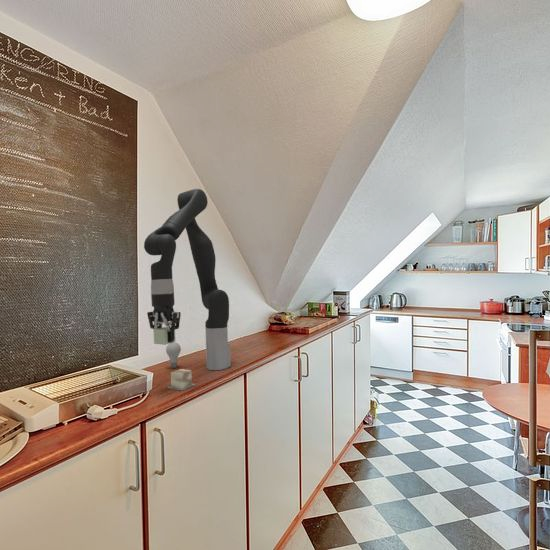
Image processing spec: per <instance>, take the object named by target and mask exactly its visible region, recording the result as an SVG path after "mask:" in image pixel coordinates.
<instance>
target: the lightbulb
mask: <svg viewBox="0 0 550 550" xmlns="http://www.w3.org/2000/svg"><path fill="white" fill-rule="evenodd" d="M181 350H182V348H181V345H180V344H179V343H177V342H173V343H169V344H167V345H166V348H165V353H166V355H167V356H168V358H169V363H170V368H172V369H175V368H176V367H178V359H179V355H180V353H181Z"/></svg>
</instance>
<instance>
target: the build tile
mask: <svg viewBox="0 0 550 550" xmlns="http://www.w3.org/2000/svg"><path fill="white" fill-rule="evenodd" d="M192 386H193V387H195V386H197V383H193V382H192V385H189V386H187V387H184V388H182V389H181V388H176V387H171V385H168V386H167V387H166V389H167V390H173V389H175V390H174V391H179V390H181V391H180V392H183V390H184V391H186V390H188V389H191V388H193V387H192ZM190 387H191V388H190ZM187 388H188V389H187ZM185 389H186V390H185Z"/></svg>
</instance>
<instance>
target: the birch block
mask: <svg viewBox="0 0 550 550" xmlns="http://www.w3.org/2000/svg"><path fill="white" fill-rule="evenodd" d="M192 383H193V381H192V370H191V369H183V368H180V369H177V370H175V371H174V370H173V371H171V372H170V386H171V387H176V388H181V389H182V388H184V387H187V386H189V385H192Z"/></svg>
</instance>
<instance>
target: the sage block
mask: <svg viewBox="0 0 550 550" xmlns="http://www.w3.org/2000/svg"><path fill="white" fill-rule="evenodd" d="M152 330H153V344H154V345H161V346H162V345H163V346H164V345H165V346H167V345H168V344H170V343H173V342H176V330H174V341H173V342H168V335H167V332H168V330H167V327H166V326H162V328H157V329H152ZM176 343H177V342H176Z"/></svg>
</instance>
